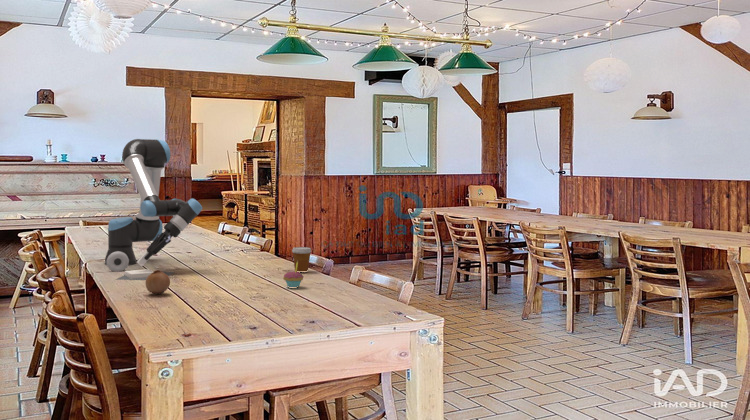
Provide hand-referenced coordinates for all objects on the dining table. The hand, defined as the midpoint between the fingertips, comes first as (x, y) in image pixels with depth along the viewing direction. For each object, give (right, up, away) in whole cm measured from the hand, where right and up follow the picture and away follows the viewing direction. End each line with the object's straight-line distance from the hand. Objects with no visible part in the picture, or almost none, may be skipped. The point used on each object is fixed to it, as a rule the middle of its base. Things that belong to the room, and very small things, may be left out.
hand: (139, 264), depth 314 cm
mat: (+3, -6, +1) cm, 7 cm away
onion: (+20, -9, -38) cm, 44 cm away
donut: (-15, -5, +13) cm, 20 cm away
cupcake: (+72, -9, -16) cm, 74 cm away
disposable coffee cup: (+71, -6, +26) cm, 76 cm away
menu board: (+5, -4, +4) cm, 7 cm away
